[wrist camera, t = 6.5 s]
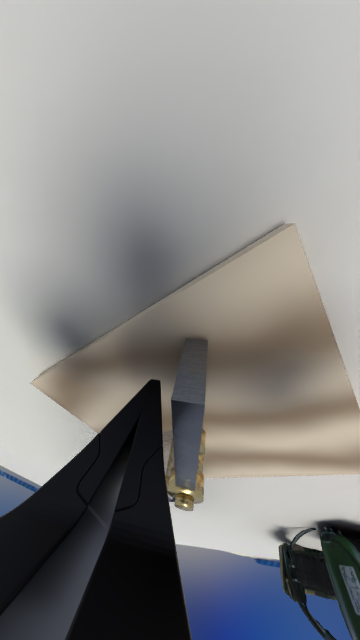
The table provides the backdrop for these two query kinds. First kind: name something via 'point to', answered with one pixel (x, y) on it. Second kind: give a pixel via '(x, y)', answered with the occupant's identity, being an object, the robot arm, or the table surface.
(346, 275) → the table surface
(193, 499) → the fixed leaf
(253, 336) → the board
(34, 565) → the robot arm
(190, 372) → the swing leaf
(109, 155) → the table surface
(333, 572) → the headphones
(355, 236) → the table surface
